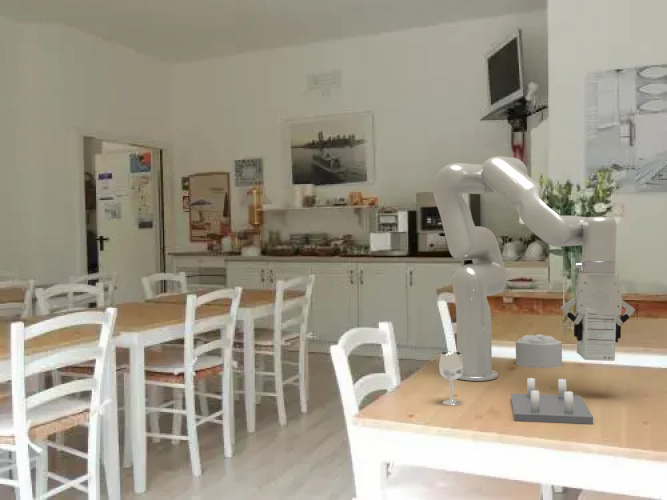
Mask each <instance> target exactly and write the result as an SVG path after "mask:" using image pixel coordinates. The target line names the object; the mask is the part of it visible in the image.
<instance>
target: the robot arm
mask: <svg viewBox="0 0 667 500" xmlns="http://www.w3.org/2000/svg"><path fill="white" fill-rule="evenodd" d="M528 174H529V172H528V168H527V166H526V164H525V163H524V161H522V160H521V159H519V158H516V157H510V156H501V155H498V156H497V155H496V156H492V157H490V158H488V159H486V160H485V161H484V162H483V163H482V164H475V163H465V162H455V163H449V164H447V165H445V166H444V167H442V168H441V169H440V170H439V172H438V173H437V175H436V177H435V179H434V181H433V182H434V183H433V199H434V201H435V204H436V207H437V210H438V213H439V217H440V219H441V224H442V227H443V232H444V235H445V240H446V243H447V247H448V251H449V253H450V255H451V257H453V258H454V259H455V260H458V261H472V263H467V264H464V265H462V266H460V267H459V268H458V269H456V270H455V272H454V274H453V276H452V280H451V281H452V282H451V284H452V290H453V296H454V302H455V319H456V321H455V323H456V352H460V353H461V355H462V359H463V366H464V369H463V374H462V375H461V377H459V378H457V379H458V380H462V381H470V382H471V381H473V382H485V381H492V380H495V379H496V378H498V377H499V376H498V374H499V373H498V372H497V371H496V370H494V369H493V367H492V365H493V363H492V359H493V357H492V314H491V307H490V304H489V301H488V298H487V297H488V296H489V297H490V296H496V295H497V294H500V293H501V292H503V290H504V289H505V287H506V286H507V279H508V276H507V271H506V268H505V264H504V260H503V256H502V253H501V249H500V244H499V242H498V239H497V238H496V235H495V234H494V233H493V231H492V230H491V229H489V228H488V227H484V226H481V225H480V226H478V225H477V226H476V225H475V223H474V219H473V216H472V212H471V209H470V207H469V205H468V204H467V202H466V200H465V199H464V197H463V194H468V195H471V194H472V195H474V194H475V195H483V194H489V193H490V194H491V193H494V192H495V193H497V194H498V195H499V196H500V197H501V198H503V199H504V200H505V201H506V202H508V204H509V205H511V206H512V207H513V208H514V209H516V211H517V214H518V215H519V218H520V219H521V221H522V223H523V224H524V225H525V227H526V228H527V229H529V230H530V231H531V232H532V233H533V234H535V236H537V237H538V238H539V239H540V240H542V241H543V242H545V244H548V245H550V246H552V247H573V246H581V247H582V248H581V249H582V250H581V251H582V253H581V255H582V256H581V261H580V262H576V263H575V269H579V270H581V272H579V273H578V277H577V281H576V289H575V296H574V297H573V298H572V299H570V300H569V301H567V302H565V303H564V304H562V305H561V309H562V311H563V312H564V314H565V315H566V316H567V317H568V319H569V320H571V321H572V322H573V336H574V337H575V338H576V341H577V340H578V341H580V340H581V329H582V325H581V324H580V321H581V320H582V318H583V315H585V308H592V309H595V310H596V311H597V315H604V316H616V338H615V343H618V342H619V339H621V336H622V335H621V334H622V333H621V332H622V326H623V324H624V323H626V321H628V320H629V318H630V317H631V316H632V315H633V313H634V312H635V311H636V309H635V308H634V307H633V306H631V305H630V304H628V303H627V302H626V301H624V300H623V299H622V286H621V285H622V284H621V278H620V274H617V273H616V264H617V263H616V261H617V255H616V254H617V221H616V219H615V218H614V217H611V216H588V217H587V216H579V215H560V214H559V213H557V212H556V211H555V210H553V209H552V208H550V207H549V206H548V205H547V203H545V202H544V201H543V199H541V193H542V187H541V185H540V184H539V183H538V182H537V181H536V180H534V178H531V177H530V175H528ZM573 306H574V308H575V311H576V314H575V315H574V314H573V313H572V312H571V310H570V308H571V307H573ZM623 308H624V309H625V310H626V311H625V312H624V313H623V314H622V309H623ZM620 315H621V316H620ZM457 379H456V380H457Z"/></svg>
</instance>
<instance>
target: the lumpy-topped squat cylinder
mask: <svg viewBox="0 0 667 500" xmlns="http://www.w3.org/2000/svg"><path fill="white" fill-rule="evenodd" d="M562 347H563V345H562V341H560V340H559V339H556V338H555V337H553V336H552V335H545V334H541V333H540V334H538V333H537V334H535V335H534V334H533V335H532V334H526V335H522V336H521V338H520V337H519V338H518V340H516V341H515V366H517V365H518V367H522V368H523V367H525V368H535V369H536V368H537V369H553V368H554V367H556V368H561V367H563V353H562V352H563V350H562ZM560 366H561V367H560Z"/></svg>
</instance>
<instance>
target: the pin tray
mask: <svg viewBox="0 0 667 500" xmlns="http://www.w3.org/2000/svg"><path fill="white" fill-rule="evenodd" d="M557 383H558V384H557V386H558V387H557V393H558V394H543V393H542V394H540V390H536V378H533V377H527V379H526V385H527V386H526V389H527V390H526V391H527V393H511V395H510V400H511V405H512V413H513V419H514V421H515V422H529V423H530V422H536V423H557V424H560V423H561V424H578V425H579V424H583V425H586V424H587V425H594V417H593V415H592V412H591V411H590V409H589V407H588V406H587V404H586V403H585V400H584V399H583V397H582V396H581V395H576V394H575V395H574V392H573V391H570V390H567V379H565V378H558V379H557Z"/></svg>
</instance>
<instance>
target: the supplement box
mask: <svg viewBox="0 0 667 500" xmlns="http://www.w3.org/2000/svg"><path fill="white" fill-rule="evenodd" d="M580 324H581V325H582V329H581V340H580V341H578V340H577V339H576V354H578V355H579V356H580V357H581V358H582V359H583V360H584V361H601V362H602V361H606V362H607V361H609V362H613V361H615V359H616V342H615V338H616V316H604V315H597V311H596V310H595V309H592V308H585V315H583V318H582V320H581V321H580Z"/></svg>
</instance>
